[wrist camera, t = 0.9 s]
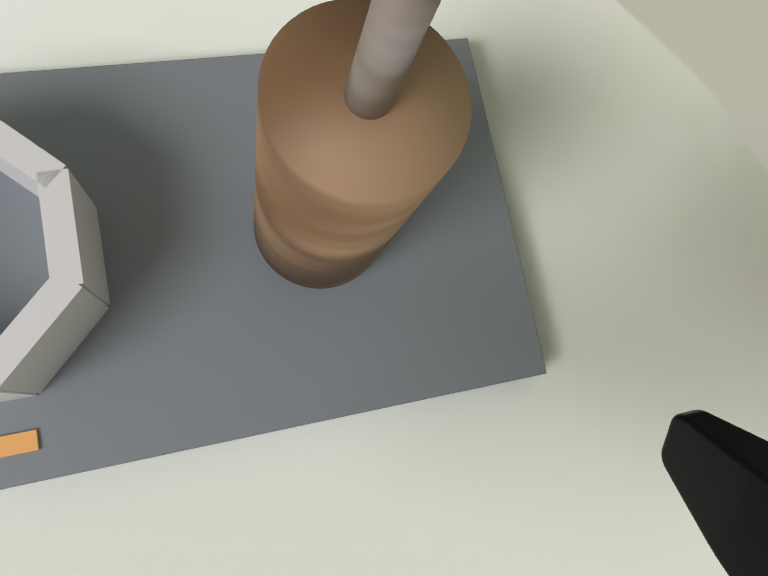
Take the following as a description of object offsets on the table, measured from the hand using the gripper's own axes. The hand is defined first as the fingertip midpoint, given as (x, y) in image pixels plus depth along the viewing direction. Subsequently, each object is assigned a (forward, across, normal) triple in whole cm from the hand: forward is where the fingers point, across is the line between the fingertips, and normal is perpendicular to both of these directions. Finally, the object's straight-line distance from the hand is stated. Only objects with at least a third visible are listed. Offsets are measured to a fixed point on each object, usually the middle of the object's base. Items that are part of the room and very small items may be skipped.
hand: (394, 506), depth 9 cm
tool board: (+15, +4, +4) cm, 16 cm away
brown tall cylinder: (+14, -2, +3) cm, 14 cm away
